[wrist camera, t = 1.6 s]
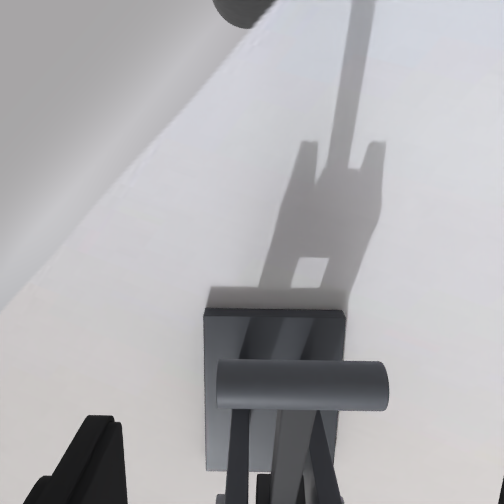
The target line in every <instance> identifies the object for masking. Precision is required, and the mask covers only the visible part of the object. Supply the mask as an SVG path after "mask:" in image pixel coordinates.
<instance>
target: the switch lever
mask: <svg viewBox="0 0 504 504" xmlns="http://www.w3.org/2000/svg"><path fill="white" fill-rule="evenodd" d="M388 401H389V382H388V376H387V372H386V369H385V366H384V365H383V363H382V362H379V361H319V360H257V359H219V360H218V364H217V373H216V406H217V408H218V409H277V419H276V429H275V438H274V448H273V458H272V467H271V474H257V485H256V504H306V501H305V488H304V476H303V475H302V474H303V469H304V465H305V460H306V456H307V451H308V447H309V442H310V437H311V433H312V428H313V424H314V419H315V415H316V410H341V411H384V410H386V408H387V406H388Z"/></svg>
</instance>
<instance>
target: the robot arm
mask: <svg viewBox="0 0 504 504" xmlns="http://www.w3.org/2000/svg"><path fill="white" fill-rule="evenodd" d="M23 504H128V501H127V488H126V475H125V461H124V448H123V435H122V425H121V423H120V422H115V421H114V418H113V416H105V415H89V416H87V417H86V418H85V420H84V422H83V423H82V425H81V427H80V428H79V430H78V432H77V433H76V435H75V437H74V439H73V440H72V442H71V444H70V445H69V447H68V449H67V450H66V452H65V454H64V455H63V457H62V459H61V461H60V462H59V464H58V466H57V467H56V469H55V471H54V472H53V474H52V476H43V477H41V478H40V479H39V480H38V481H37V482H36V484H35V485H34V487H33V488H32V490H31V492H30V493H29V495H28V496H27V498H26V500H25V501H24V503H23ZM498 504H504V478H503V483H502V488H501V493H500V497H499V502H498Z"/></svg>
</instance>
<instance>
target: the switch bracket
mask: <svg viewBox="0 0 504 504" xmlns="http://www.w3.org/2000/svg"><path fill="white" fill-rule="evenodd" d="M203 322H204V382H205V443H206V471H227V478H226V491H225V494H218V495H217V497H216V504H248V477H249V472H271V467H272V458H273V448H274V438H275V429H276V419H277V409H218V408H217V406H216V373H217V364H218V360H219V359H257V360H319V361H342V359H343V347H344V335H345V323H346V317H345V315H344V313H343V311H342V310H287V309H226V308H205V312H204V316H203ZM337 418H338V410H316V415H315V419H314V424H313V428H312V433H311V437H310V442H309V447H308V451H307V456H306V460H305V465H304V469H303V474H302V475H303V476H304V488H305V501H306V504H344V500H343V498H342V497H341V496H340V492H339V488H338V484H337V479H336V475H335V471H334V467H333V465H334V453H335V442H336V430H337Z"/></svg>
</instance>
